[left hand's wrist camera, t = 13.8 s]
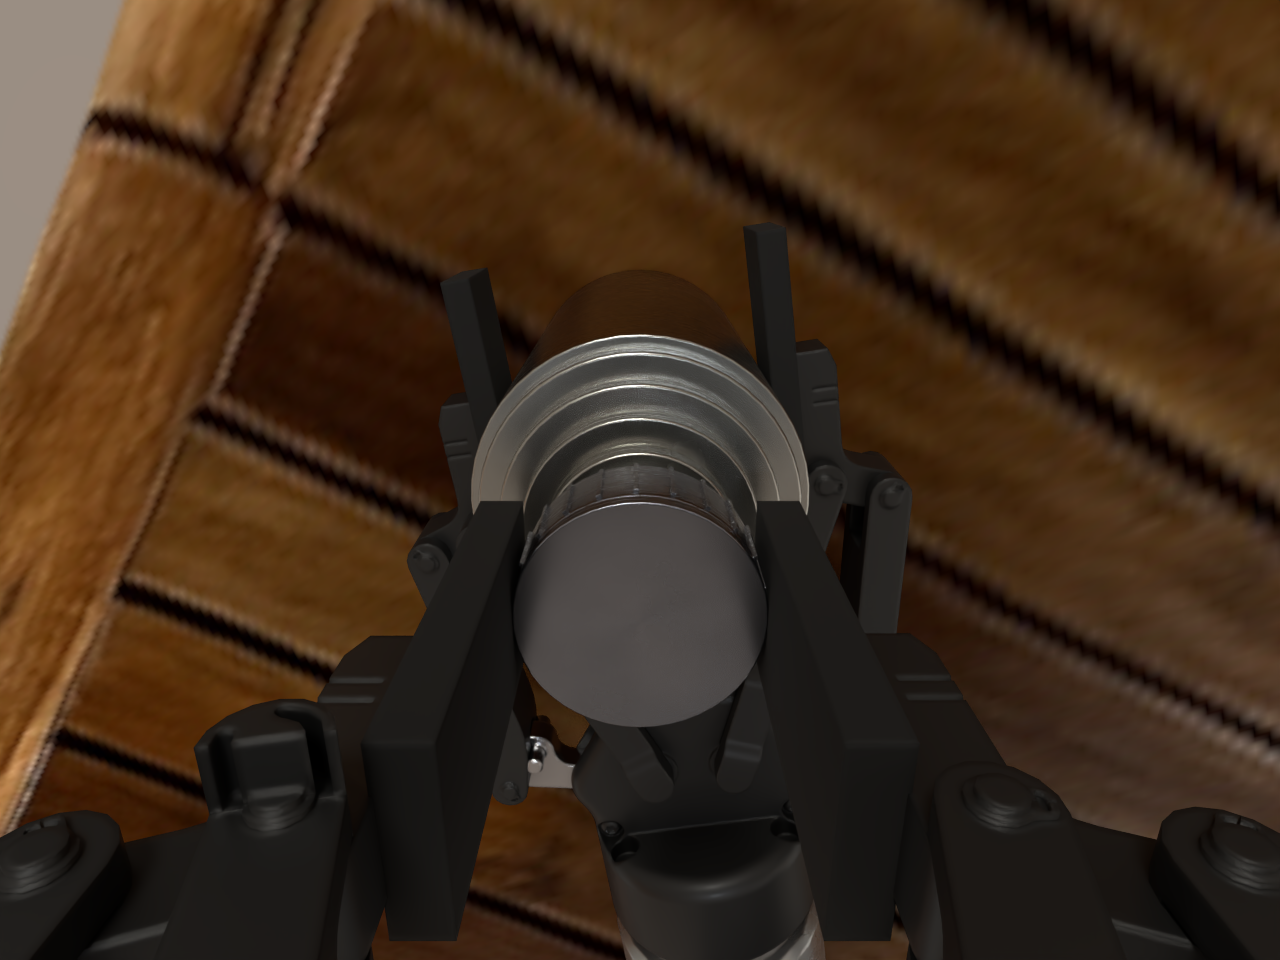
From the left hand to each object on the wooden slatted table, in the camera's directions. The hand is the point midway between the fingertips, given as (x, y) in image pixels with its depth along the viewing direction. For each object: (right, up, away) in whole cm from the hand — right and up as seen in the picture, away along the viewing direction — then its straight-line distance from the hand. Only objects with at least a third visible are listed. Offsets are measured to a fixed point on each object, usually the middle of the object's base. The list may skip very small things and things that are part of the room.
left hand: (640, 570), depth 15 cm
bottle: (0, +5, +15) cm, 16 cm away
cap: (0, 0, -1) cm, 1 cm away
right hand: (-1, +8, +7) cm, 11 cm away
